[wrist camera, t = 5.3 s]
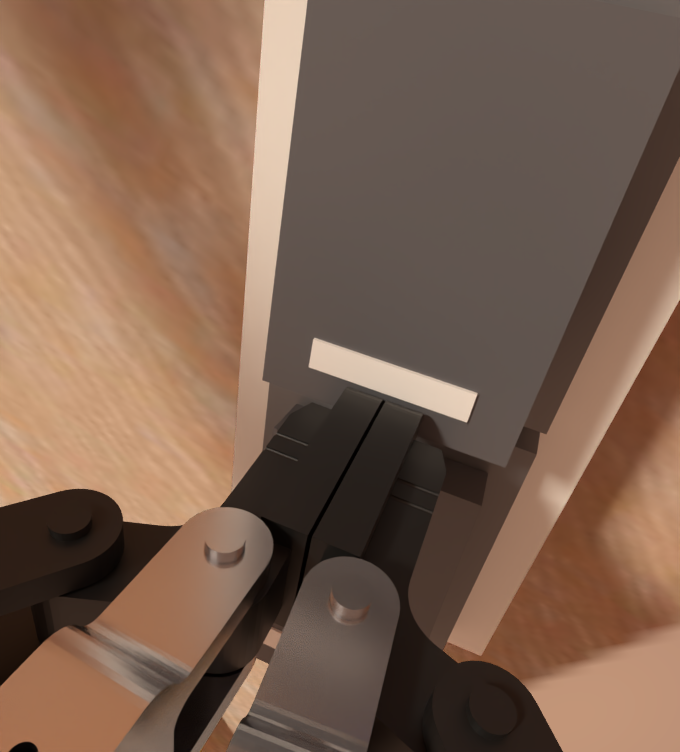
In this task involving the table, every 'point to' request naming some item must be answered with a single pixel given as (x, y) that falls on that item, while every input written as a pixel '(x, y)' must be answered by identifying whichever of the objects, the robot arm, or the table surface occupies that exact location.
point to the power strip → (566, 372)
